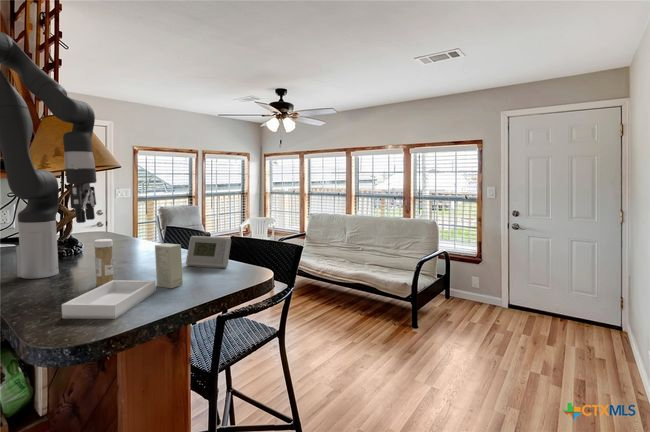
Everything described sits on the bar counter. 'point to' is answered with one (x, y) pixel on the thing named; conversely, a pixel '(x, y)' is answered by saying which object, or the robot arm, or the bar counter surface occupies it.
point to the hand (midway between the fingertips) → (86, 221)
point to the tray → (108, 300)
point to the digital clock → (208, 252)
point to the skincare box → (168, 265)
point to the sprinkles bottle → (103, 261)
